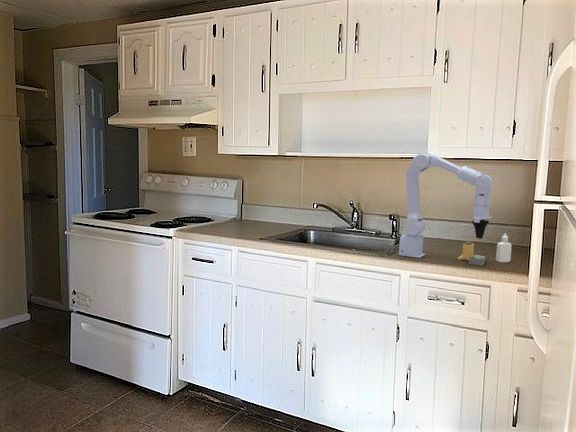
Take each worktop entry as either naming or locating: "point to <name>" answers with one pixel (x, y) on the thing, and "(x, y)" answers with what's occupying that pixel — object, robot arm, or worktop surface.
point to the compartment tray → (465, 258)
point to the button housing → (477, 261)
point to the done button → (477, 256)
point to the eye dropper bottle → (503, 250)
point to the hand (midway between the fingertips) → (479, 238)
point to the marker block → (468, 249)
